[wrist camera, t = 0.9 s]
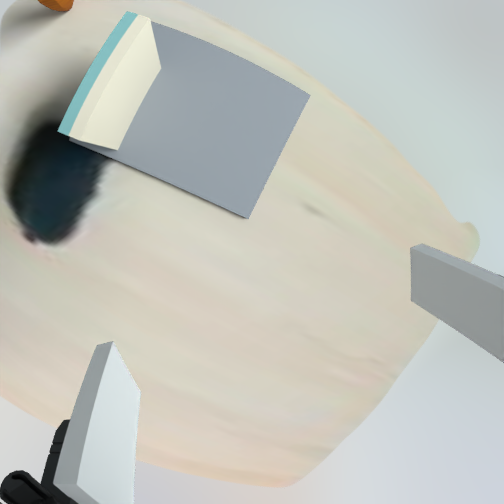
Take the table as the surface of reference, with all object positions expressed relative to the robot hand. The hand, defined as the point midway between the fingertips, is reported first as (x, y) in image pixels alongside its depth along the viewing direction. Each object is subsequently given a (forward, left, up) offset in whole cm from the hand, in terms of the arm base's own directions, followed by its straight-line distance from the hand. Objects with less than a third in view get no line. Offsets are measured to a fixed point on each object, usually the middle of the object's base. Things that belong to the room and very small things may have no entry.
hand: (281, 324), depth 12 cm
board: (-14, +8, -22) cm, 28 cm away
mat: (-8, +10, -23) cm, 26 cm away
